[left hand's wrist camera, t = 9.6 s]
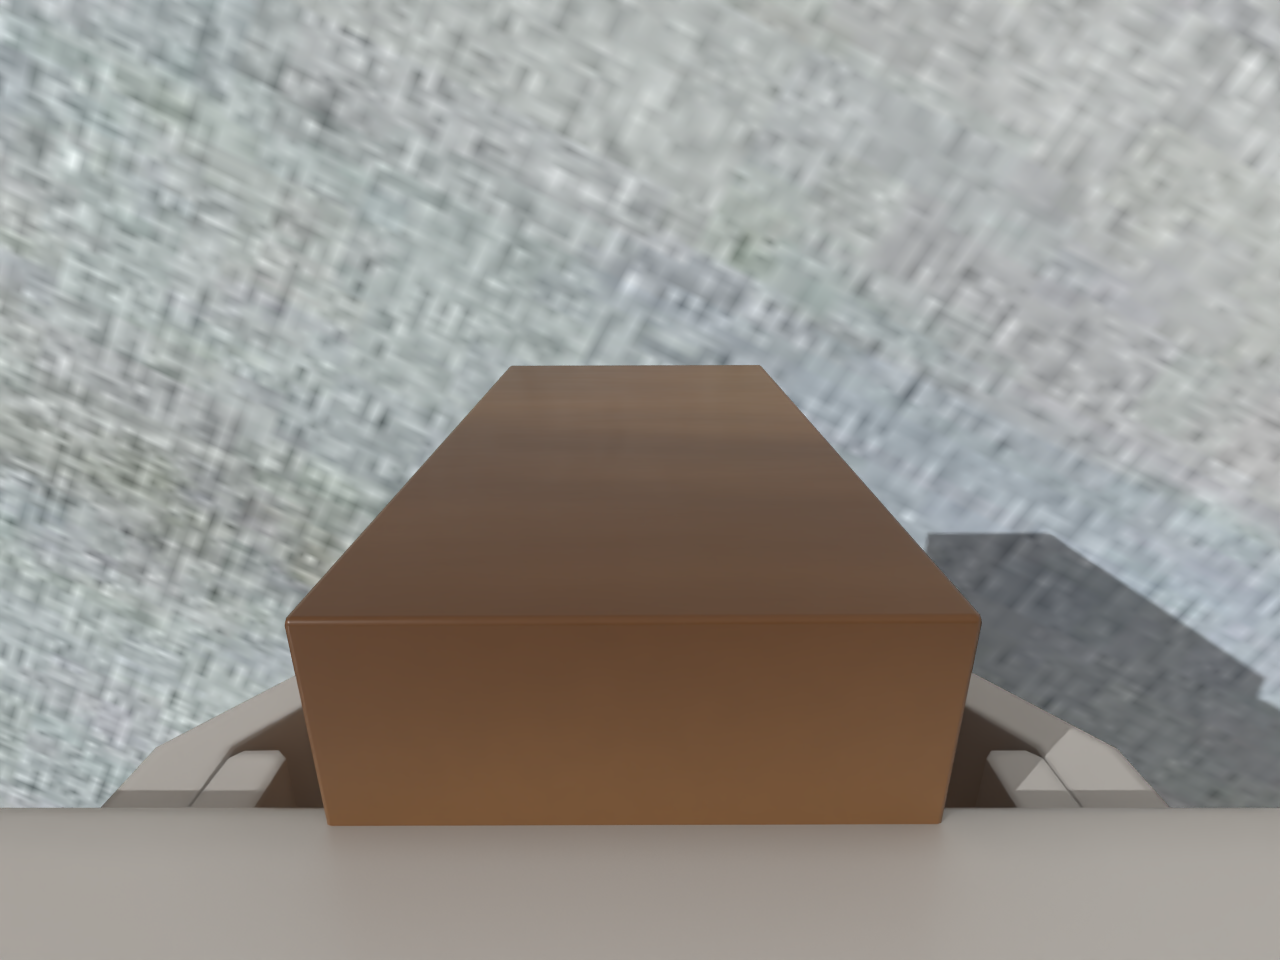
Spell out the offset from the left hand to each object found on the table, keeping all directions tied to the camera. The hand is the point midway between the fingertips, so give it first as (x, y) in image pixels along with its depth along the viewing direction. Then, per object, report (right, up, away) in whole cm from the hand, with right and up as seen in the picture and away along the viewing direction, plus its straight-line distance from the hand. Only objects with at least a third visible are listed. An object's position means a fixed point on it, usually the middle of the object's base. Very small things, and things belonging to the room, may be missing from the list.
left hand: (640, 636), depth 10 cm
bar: (0, -9, +7) cm, 11 cm away
